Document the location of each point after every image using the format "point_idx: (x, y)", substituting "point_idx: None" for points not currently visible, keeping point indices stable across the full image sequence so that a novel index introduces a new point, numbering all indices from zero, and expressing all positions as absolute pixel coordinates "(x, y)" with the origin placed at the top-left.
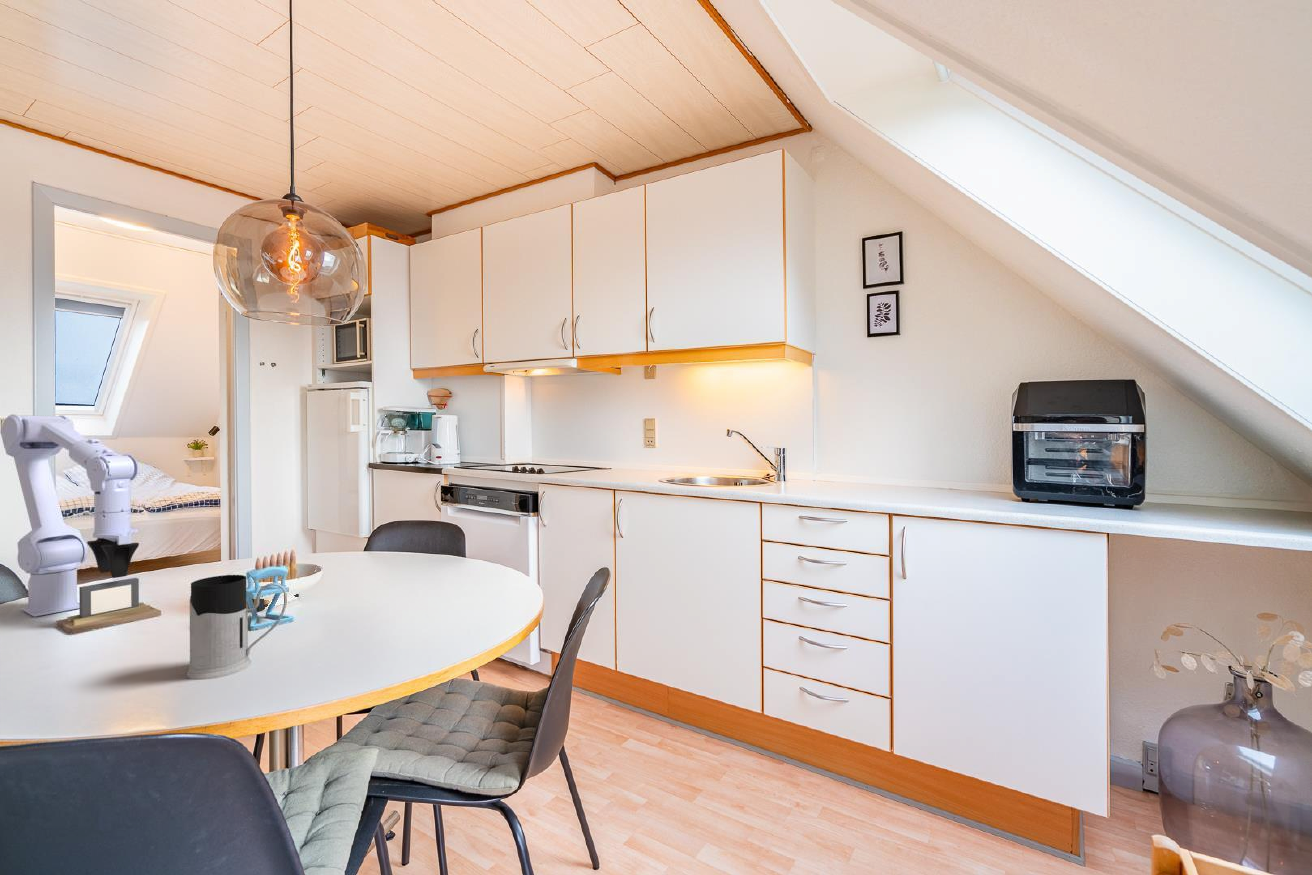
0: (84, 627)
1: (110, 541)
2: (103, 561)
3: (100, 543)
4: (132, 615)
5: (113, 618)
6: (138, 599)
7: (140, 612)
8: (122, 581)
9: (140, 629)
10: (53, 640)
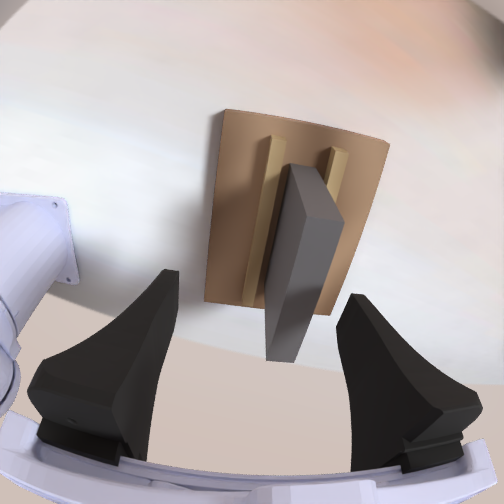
0: (336, 297)
1: (131, 431)
2: (164, 344)
3: (141, 446)
4: (353, 205)
5: None
6: (323, 182)
7: (344, 178)
8: (326, 275)
9: (441, 235)
10: (330, 331)
